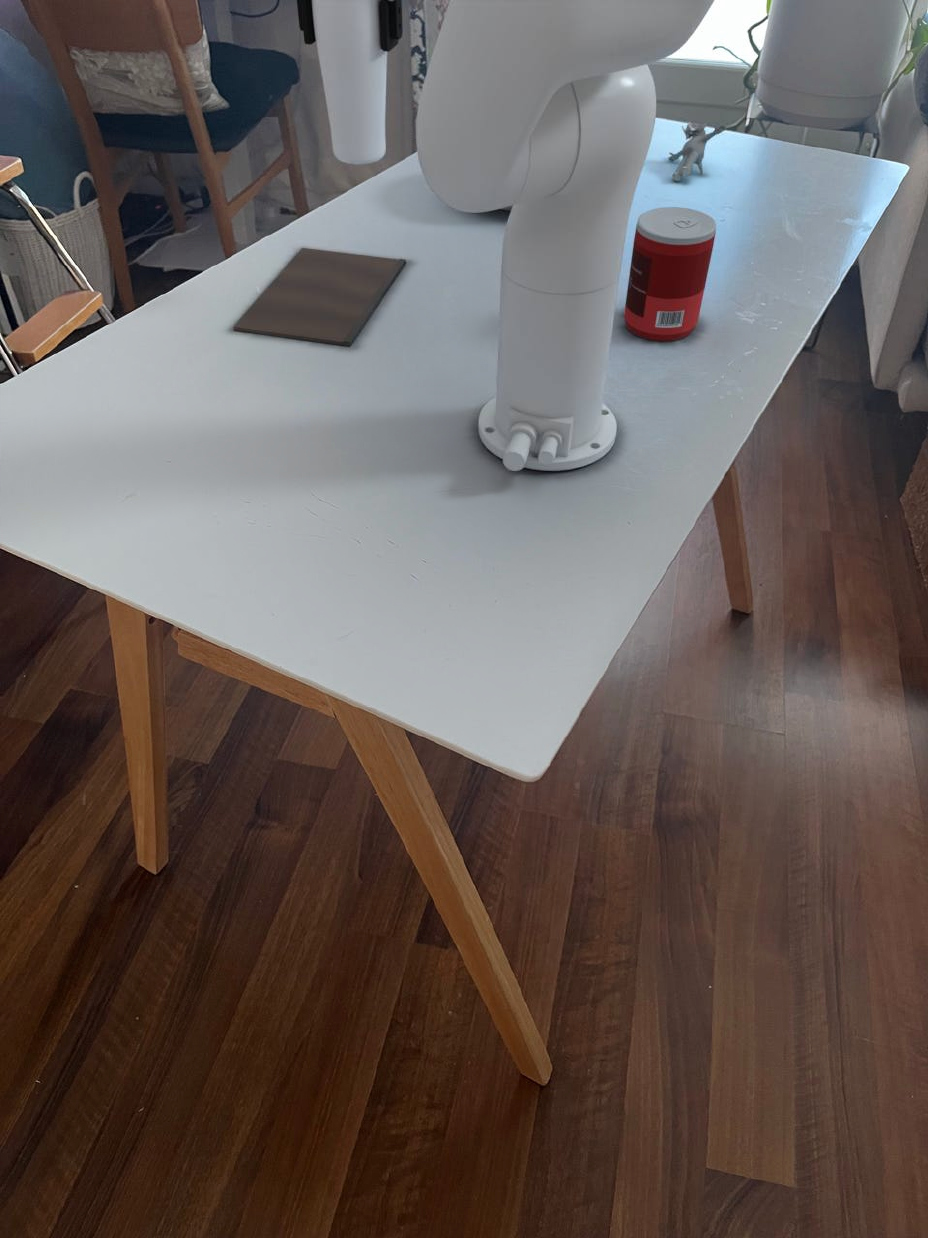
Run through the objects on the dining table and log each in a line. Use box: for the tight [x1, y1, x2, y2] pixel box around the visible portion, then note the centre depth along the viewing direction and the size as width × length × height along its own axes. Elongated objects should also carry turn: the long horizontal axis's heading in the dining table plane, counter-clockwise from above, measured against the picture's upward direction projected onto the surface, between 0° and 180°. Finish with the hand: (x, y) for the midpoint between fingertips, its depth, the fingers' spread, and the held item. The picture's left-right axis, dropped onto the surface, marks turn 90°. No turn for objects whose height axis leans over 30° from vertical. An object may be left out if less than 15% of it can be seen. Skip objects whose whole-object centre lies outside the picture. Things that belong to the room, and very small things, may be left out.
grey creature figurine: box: [667, 120, 727, 183], centre depth 129 cm, size 10×6×9 cm
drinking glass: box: [312, 0, 388, 166], centre depth 89 cm, size 7×7×15 cm
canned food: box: [623, 206, 717, 342], centre depth 96 cm, size 8×8×11 cm
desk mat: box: [232, 247, 407, 347], centre depth 104 cm, size 20×13×1 cm, turn 166°
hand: (351, 42), depth 87 cm, fingers closed on drinking glass, 6 cm apart
